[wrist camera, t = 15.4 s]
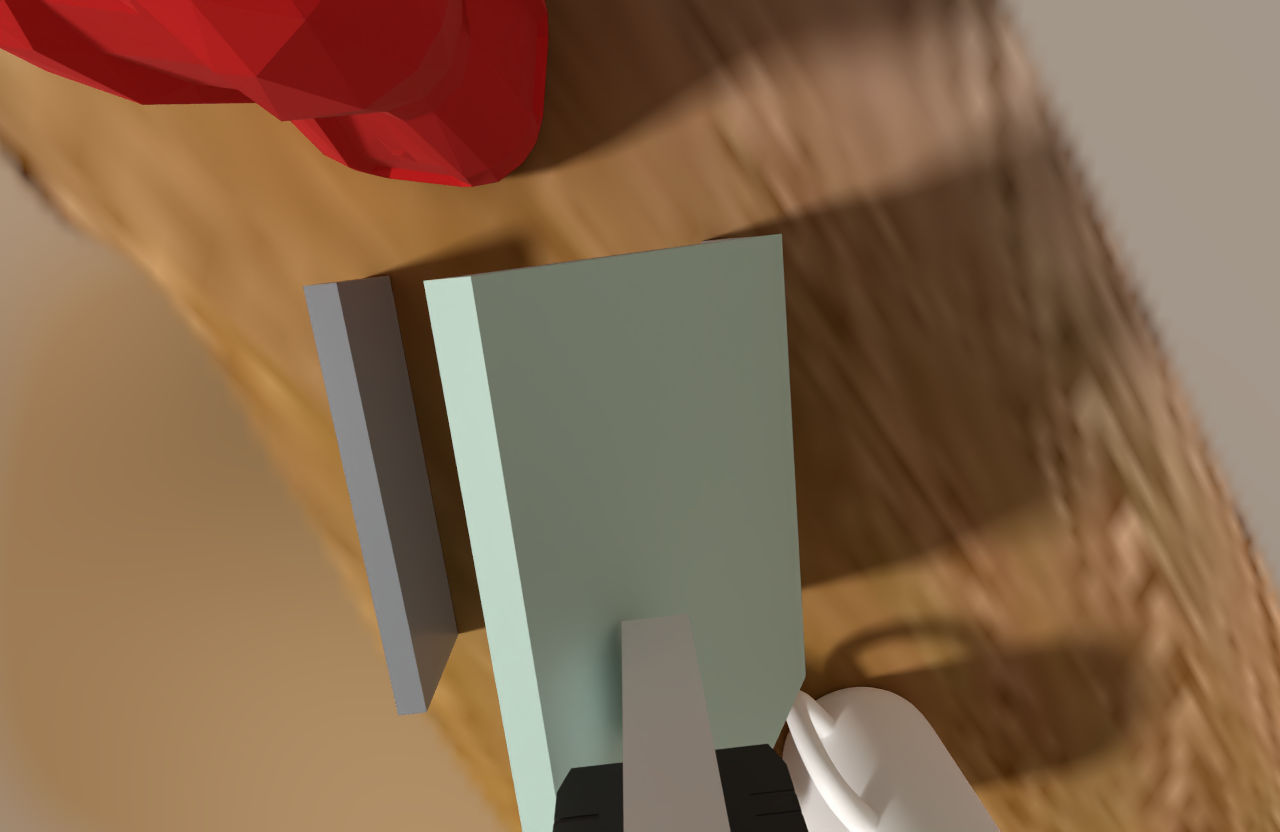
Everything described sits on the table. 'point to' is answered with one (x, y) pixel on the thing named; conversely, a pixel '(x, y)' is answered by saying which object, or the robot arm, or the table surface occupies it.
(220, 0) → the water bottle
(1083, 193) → the table surface
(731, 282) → the lid
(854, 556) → the table surface
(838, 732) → the cup
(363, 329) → the grey long flat pieces
